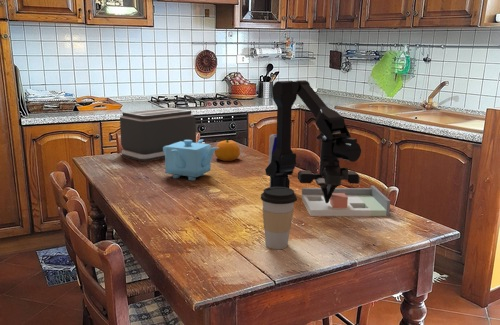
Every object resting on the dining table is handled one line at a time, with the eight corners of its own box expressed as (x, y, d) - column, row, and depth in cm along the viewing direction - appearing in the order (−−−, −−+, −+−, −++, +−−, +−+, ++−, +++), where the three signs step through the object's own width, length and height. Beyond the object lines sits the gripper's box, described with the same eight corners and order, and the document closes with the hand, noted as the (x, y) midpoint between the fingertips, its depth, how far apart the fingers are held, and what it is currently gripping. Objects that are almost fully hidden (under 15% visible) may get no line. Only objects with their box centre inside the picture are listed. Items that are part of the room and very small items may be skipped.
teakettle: (160, 172, 196) (159, 137, 192) (204, 168, 203) (204, 134, 199) (172, 184, 179) (171, 146, 175) (219, 180, 186) (219, 143, 183)
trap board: (310, 216, 149) (311, 200, 147) (301, 199, 165) (302, 185, 164) (389, 216, 150) (390, 201, 149) (372, 199, 167) (373, 185, 165)
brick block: (333, 207, 151) (333, 197, 150) (329, 203, 155) (330, 193, 154) (347, 207, 151) (347, 197, 150) (343, 203, 155) (344, 193, 154)
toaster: (200, 151, 237) (200, 110, 232) (143, 162, 212) (142, 116, 207) (175, 145, 250) (174, 106, 245) (118, 155, 224) (116, 112, 219)
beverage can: (279, 171, 202) (280, 136, 198) (267, 170, 203) (268, 135, 199) (281, 168, 206) (282, 134, 203) (269, 167, 207) (270, 133, 204)
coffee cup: (257, 238, 131) (258, 185, 127) (291, 237, 131) (293, 185, 128) (261, 252, 121) (262, 196, 118) (297, 252, 122) (300, 196, 119)
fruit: (239, 162, 215) (239, 141, 213) (213, 162, 215) (213, 140, 213) (240, 156, 226) (240, 136, 224) (215, 156, 227) (215, 135, 224)
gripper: (304, 160, 141) (301, 211, 144) (366, 161, 142) (362, 211, 145) (298, 152, 151) (296, 199, 155) (356, 153, 152) (352, 200, 156)
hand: (326, 202), depth 153 cm, fingers closed
